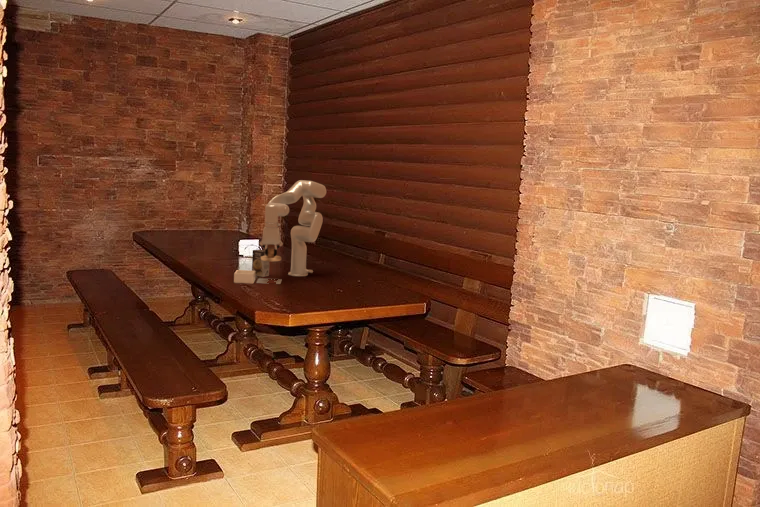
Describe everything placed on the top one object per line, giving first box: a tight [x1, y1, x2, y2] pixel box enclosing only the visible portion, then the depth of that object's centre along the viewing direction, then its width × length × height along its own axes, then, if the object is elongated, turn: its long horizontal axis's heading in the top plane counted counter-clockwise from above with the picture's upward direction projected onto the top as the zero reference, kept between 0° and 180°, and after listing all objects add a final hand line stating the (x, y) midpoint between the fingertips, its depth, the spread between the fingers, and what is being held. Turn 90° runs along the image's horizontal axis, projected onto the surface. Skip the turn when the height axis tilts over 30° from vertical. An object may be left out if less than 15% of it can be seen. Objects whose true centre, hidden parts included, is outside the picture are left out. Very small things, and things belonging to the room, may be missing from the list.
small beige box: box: [233, 269, 256, 285], centre depth 370 cm, size 11×11×6 cm
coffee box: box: [251, 249, 270, 278], centre depth 390 cm, size 9×6×16 cm
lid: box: [261, 247, 282, 263], centre depth 373 cm, size 12×12×6 cm
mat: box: [255, 277, 283, 285], centre depth 375 cm, size 14×14×1 cm
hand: (271, 255), depth 374 cm, fingers closed on lid, 4 cm apart
